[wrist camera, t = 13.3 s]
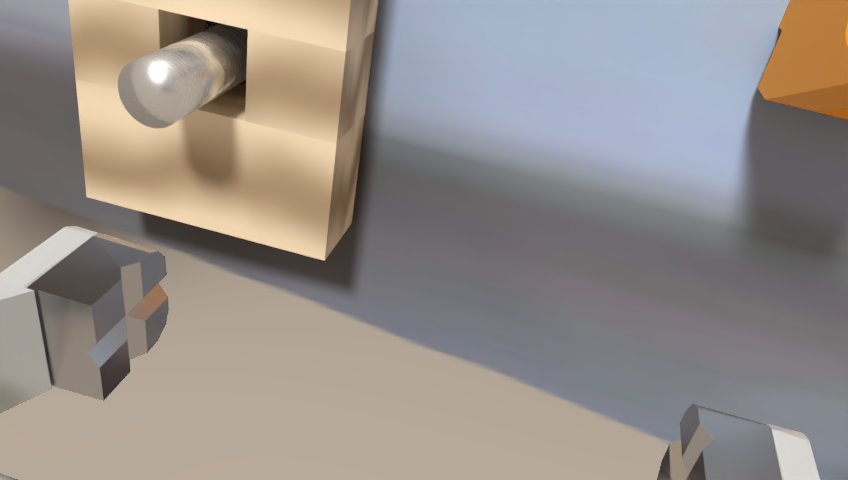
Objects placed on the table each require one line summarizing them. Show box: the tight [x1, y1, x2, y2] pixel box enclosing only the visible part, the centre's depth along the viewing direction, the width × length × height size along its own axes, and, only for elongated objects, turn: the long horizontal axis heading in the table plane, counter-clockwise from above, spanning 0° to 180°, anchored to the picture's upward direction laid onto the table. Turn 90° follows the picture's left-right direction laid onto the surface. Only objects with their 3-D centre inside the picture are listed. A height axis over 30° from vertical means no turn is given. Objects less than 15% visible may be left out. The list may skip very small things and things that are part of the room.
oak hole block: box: [68, 0, 379, 261], centre depth 36 cm, size 18×14×4 cm
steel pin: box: [118, 23, 248, 128], centre depth 34 cm, size 3×3×9 cm
